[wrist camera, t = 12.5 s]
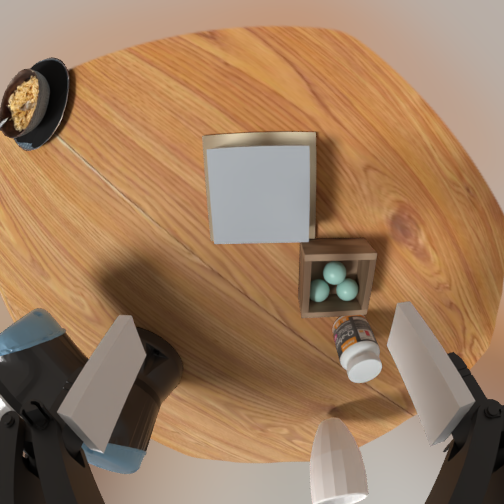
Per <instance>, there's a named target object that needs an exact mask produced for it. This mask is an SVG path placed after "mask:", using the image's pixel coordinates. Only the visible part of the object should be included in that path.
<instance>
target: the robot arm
mask: <svg viewBox="0 0 504 504" xmlns="http://www.w3.org/2000/svg"><path fill="white" fill-rule="evenodd" d="M387 347H388V349H389V351H390V353H391V355H392V357H393V359H394V361H395V364H396V366H397V368H398V370H399V372H400V374H401V377H402V379H403V381H404V383H405V385H406V388H407V390H408V392H409V395H410V397H411V399H412V402H413V404H414V406H415V409H416V411H417V414H418V416H419V418H420V421H421V423H422V426H423V428H424V431H425V434H426V436H427V439H428V441H429V444H430V446H432V445H435V444H438V443H441V442H443V441H445V440H446V439H447V438H448V436H449V435H450V434H451V433H452V436H453V438H454V439H453V440H452V441H451V442H450V443H449V444H448V445H447V447H446V448H445V450H444V451H443V452H446V451H447V450H448V452H447V455H446V458H445V460H444V463H443V465H442V468H441V470H440V473H439V475H438V477H437V479H436V481H435V484H434V486H433V488H432V490H431V492H430V495H429V496H428V498H427V500H426V502H425V504H504V405H501V404H500V403H499V402H498V401H495V400H493V399H487V398H486V397H485V395H484V393H483V391H482V390H481V388H480V386H479V385H478V383H477V382H476V380H475V378H474V377H473V375H471V372H470V370H469V369H467V366H466V364H465V363H464V361H463V360H462V358H460V357H459V356H458V355H456V354H455V353H454V352H452V353H449V354H447V353H446V352H445V350H444V349H443V347H442V346H441V344H440V343H439V341H438V340H437V338H436V337H435V335H434V334H433V332H432V331H431V330H430V328H429V327H428V325H427V324H426V323H425V321H424V320H423V318H422V317H421V316H420V314H419V313H418V311H417V310H416V309H415V307H414V306H413V305H412V303H411V302H402V303H397V306H396V311H395V315H394V319H393V323H392V328H391V332H390V335H389V339H388V343H387ZM182 372H183V365H182V361H181V359H180V357H179V355H178V354H177V352H176V351H175V350H174V348H173V347H172V346H171V345H170V344H168V343H167V342H166V341H165V340H163V339H162V338H161V337H159V336H157V335H156V334H154V333H152V332H149V331H147V330H144V329H141V328H137V327H135V324H134V321H133V318H132V315H119V316H118V317H117V319H116V320H115V321H114V323H113V324H112V326H111V327H110V329H109V330H108V332H107V333H106V334H105V336H104V337H103V339H102V340H101V342H100V343H99V345H98V346H97V348H96V349H95V351H94V352H93V354H92V355H91V357H90V359H88V358H87V357H86V356H85V355H84V354H83V352H82V351H81V350H80V349H79V348H78V347H77V346H76V345H75V343H74V342H73V341H72V340H71V339H70V337H69V336H68V335H67V334H66V330H65V329H64V328H62V327H61V326H60V325H59V324H58V323H57V321H56V320H55V319H54V318H53V317H52V316H51V314H50V313H49V312H48V311H46V310H45V309H42V308H37V309H34V310H32V311H31V312H29V313H28V314H26V315H25V316H23V317H22V318H21V319H19V320H18V321H16V322H15V323H14V324H12V325H11V326H9V327H8V328H7V329H5V330H4V331H3V332H1V333H0V504H105V503H104V501H103V498H102V496H101V494H100V491H99V489H98V487H97V484H96V482H95V480H94V477H93V474H92V472H91V470H90V467H89V464H88V463H90V464H92V465H95V466H97V467H100V468H103V469H106V470H109V471H112V472H117V473H122V474H131V473H134V472H136V471H137V470H138V469H139V467H140V465H141V462H142V460H143V458H144V455H146V450H147V447H148V444H149V440H150V437H151V434H152V431H153V428H154V424H155V421H156V418H157V415H158V412H159V409H160V406H161V404H162V402H163V401H164V400H165V399H166V398H167V397H168V396H169V395H170V393H171V392H172V391H173V390H174V389H175V388H176V387H177V385H178V384H179V382H180V379H181V376H182ZM23 451H24V452H25V453H26V454H25V458H24V457H23Z"/></svg>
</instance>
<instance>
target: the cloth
mask: <svg viewBox="0 0 504 504" xmlns="http://www.w3.org/2000/svg"><path fill="white" fill-rule="evenodd" d="M202 140H203V155H204V169H205V182H206V195H207V206H208V217H209V228H210V238H211V241H214V236H213V225H212V214H211V202H210V190H209V177H208V163H207V149H211V148H216V147H231V146H250V145H307V146H309V149H310V210H309V239H315V221H316V132H258V133H236V134H221V135H209V136H202Z"/></svg>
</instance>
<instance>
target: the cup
mask: <svg viewBox="0 0 504 504" xmlns="http://www.w3.org/2000/svg"><path fill="white" fill-rule="evenodd" d="M310 485H311V495H312V504H353V503H356V502H359V501H361V500H363V499H365V498H366V497H367V495H368V486H367V478H366V471H365V467H364V463H363V459H362V455H361V452H360V450H359V448H358V446H357V443H356V441H355V439H354V437H353V435H352V434H351V432H350V431H349V429H348V428H347V426H346V425H345V424H344V423H343V422H342V421H341V419H339V418H328V419H325V420H323V421H322V422H321V423H320V424H319V426H318V429H317V431H316V435H315V438H314V442H313V446H312V453H311V459H310Z"/></svg>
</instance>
